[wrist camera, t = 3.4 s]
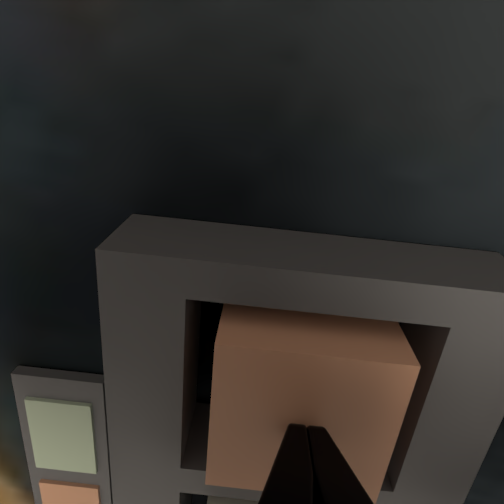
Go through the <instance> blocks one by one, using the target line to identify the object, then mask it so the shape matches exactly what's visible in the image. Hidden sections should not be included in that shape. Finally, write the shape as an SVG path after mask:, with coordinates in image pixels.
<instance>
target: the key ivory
mask: <svg viewBox="0 0 504 504" xmlns="http://www.w3.org/2000/svg"><path fill="white" fill-rule="evenodd" d="M258 502H259V501H253V500H244V499H235V498H226V497H217V496H208V499H207V504H258Z"/></svg>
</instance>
